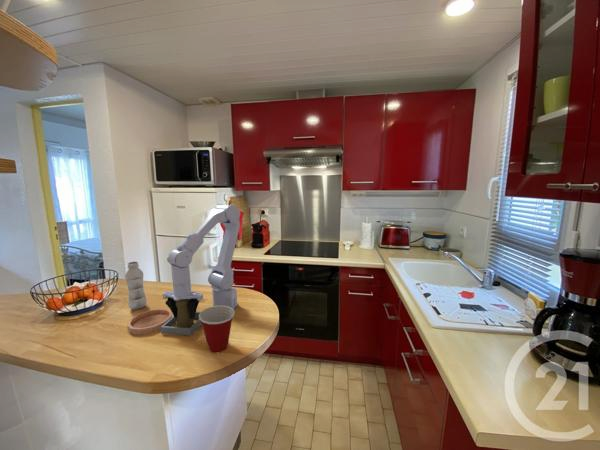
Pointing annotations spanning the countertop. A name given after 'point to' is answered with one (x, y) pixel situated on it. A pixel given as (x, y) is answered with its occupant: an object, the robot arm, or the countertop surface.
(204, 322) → the plastic cup
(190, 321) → the olive rounded piece
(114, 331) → the countertop surface
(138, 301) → the plastic bottle
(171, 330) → the parts tray
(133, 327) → the dish
